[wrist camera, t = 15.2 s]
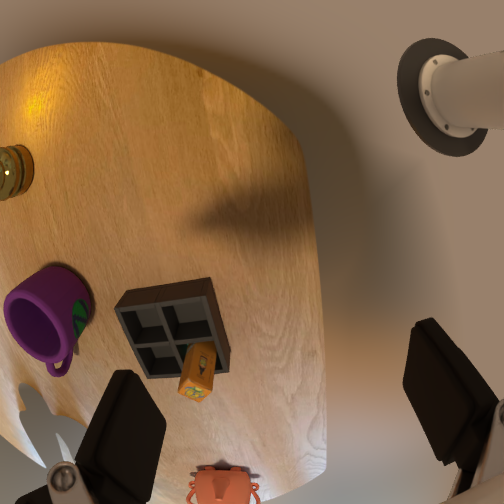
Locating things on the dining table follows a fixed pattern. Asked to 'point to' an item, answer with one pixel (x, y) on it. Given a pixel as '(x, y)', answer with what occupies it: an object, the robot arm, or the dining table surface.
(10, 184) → the brass knobbed weight
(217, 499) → the teapot
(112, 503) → the robot arm
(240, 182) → the dining table surface
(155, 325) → the rack
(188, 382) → the supplement box
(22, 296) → the mug
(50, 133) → the dining table surface
